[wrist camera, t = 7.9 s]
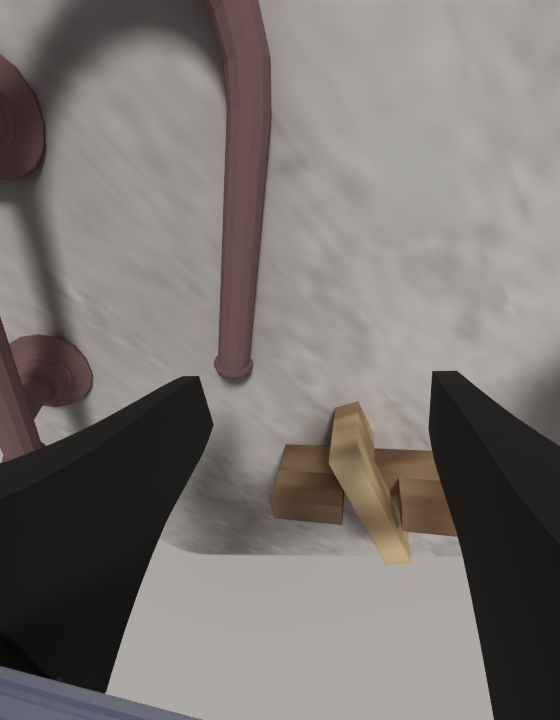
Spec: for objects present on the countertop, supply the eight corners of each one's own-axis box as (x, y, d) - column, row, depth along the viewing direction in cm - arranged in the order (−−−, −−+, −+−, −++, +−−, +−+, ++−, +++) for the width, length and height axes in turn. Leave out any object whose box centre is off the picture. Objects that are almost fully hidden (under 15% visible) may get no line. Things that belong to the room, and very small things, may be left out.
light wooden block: (335, 407, 23) (328, 463, 18) (358, 401, 22) (356, 457, 18) (381, 499, 26) (385, 564, 21) (403, 496, 25) (411, 562, 21)
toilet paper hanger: (245, 463, 25) (-37, 484, 21) (236, 403, 31) (14, 410, 27) (313, -187, 10) (-584, -546, 6) (271, -67, 16) (-207, -212, 12)
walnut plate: (464, 452, 22) (489, 520, 18) (462, 470, 23) (484, 539, 19) (286, 444, 25) (270, 500, 21) (288, 460, 26) (273, 517, 22)
